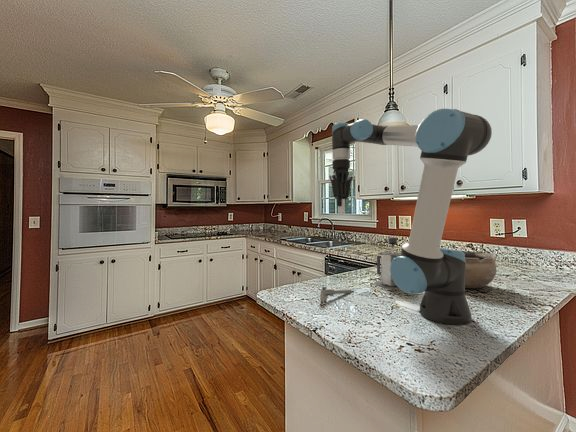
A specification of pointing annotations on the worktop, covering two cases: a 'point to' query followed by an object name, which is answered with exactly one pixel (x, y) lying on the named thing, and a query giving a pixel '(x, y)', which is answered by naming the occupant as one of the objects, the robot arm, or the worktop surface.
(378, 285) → the trivet
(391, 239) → the plunger
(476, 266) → the ceramic bowl
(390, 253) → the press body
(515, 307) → the worktop surface
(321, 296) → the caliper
